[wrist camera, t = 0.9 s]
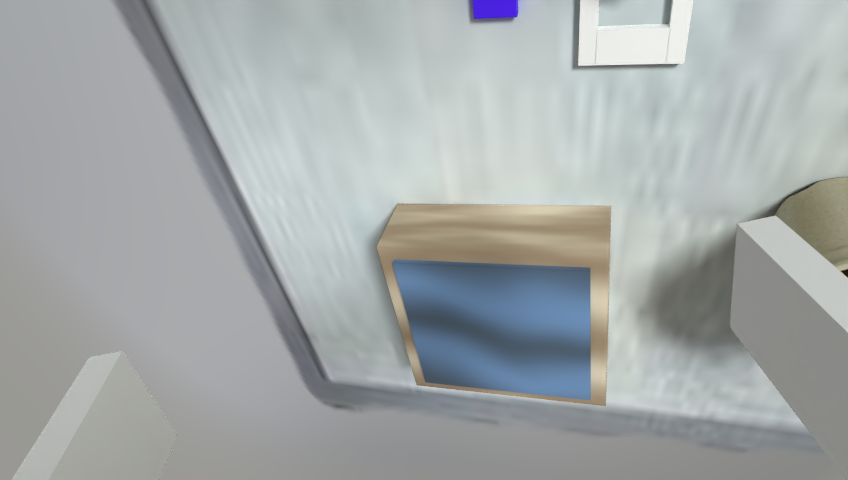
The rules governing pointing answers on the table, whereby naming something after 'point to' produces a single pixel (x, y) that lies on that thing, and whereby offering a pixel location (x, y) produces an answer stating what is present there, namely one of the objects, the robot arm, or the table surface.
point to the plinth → (503, 297)
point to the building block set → (615, 34)
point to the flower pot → (821, 219)
